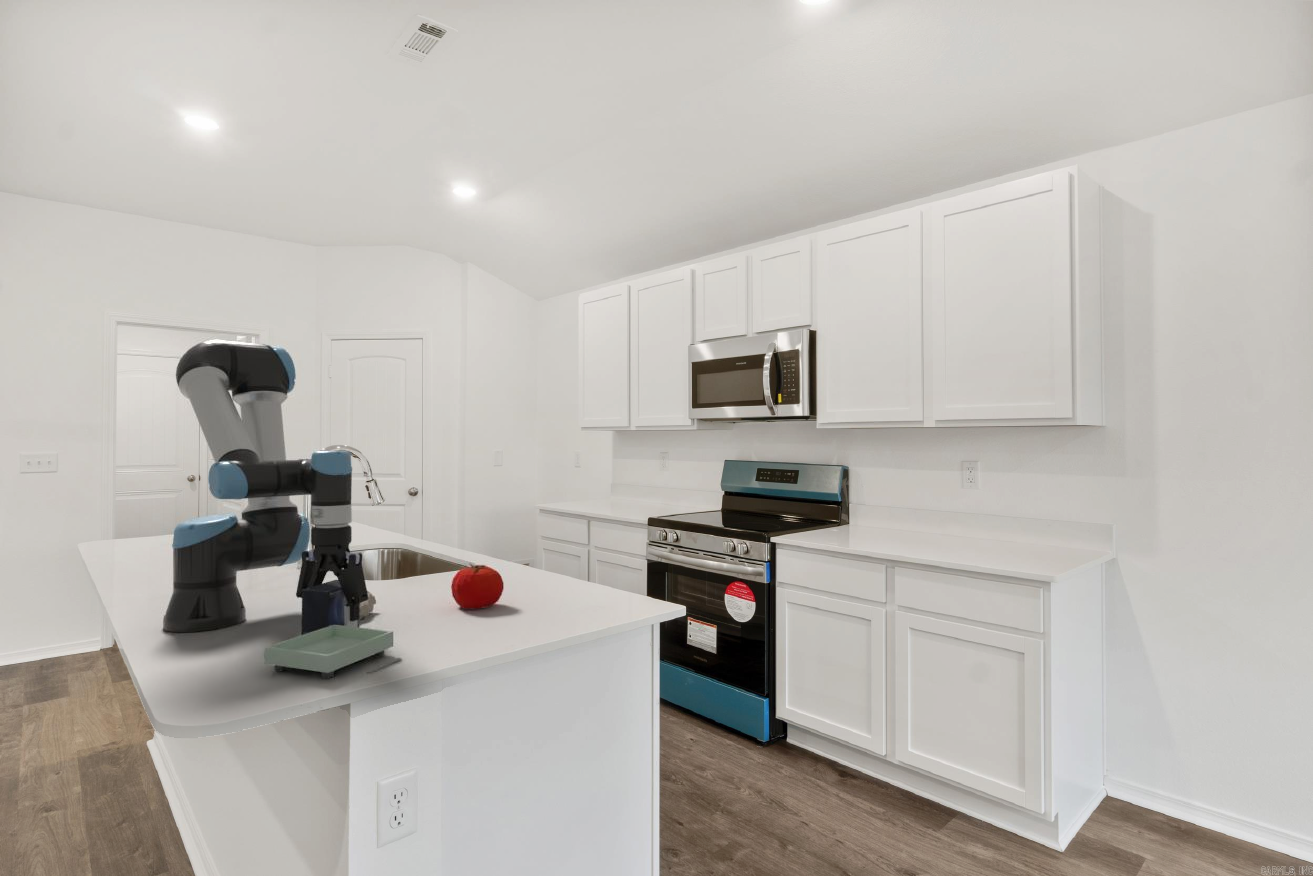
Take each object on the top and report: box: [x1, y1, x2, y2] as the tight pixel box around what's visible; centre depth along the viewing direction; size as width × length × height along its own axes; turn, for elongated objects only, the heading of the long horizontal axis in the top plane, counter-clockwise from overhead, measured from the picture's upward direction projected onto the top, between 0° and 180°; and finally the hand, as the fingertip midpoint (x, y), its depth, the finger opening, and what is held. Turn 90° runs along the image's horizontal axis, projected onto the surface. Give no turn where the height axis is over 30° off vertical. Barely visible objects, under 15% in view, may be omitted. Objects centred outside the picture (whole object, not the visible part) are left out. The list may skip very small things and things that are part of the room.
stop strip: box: [366, 657, 403, 674], centre depth 121 cm, size 1×8×1 cm, turn 161°
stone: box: [359, 590, 377, 620], centre depth 154 cm, size 8×12×10 cm, turn 176°
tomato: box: [450, 562, 505, 610], centre depth 164 cm, size 11×13×10 cm
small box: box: [300, 579, 360, 636], centre depth 141 cm, size 11×6×10 cm, turn 168°
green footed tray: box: [263, 625, 394, 680], centre depth 123 cm, size 14×15×4 cm
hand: (331, 634), depth 140 cm, fingers open, 9 cm apart
